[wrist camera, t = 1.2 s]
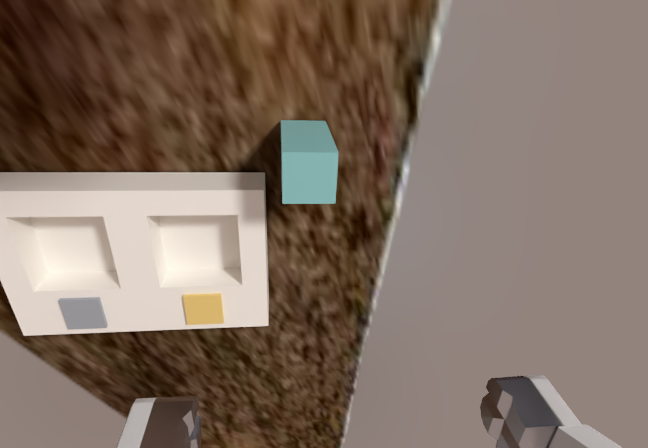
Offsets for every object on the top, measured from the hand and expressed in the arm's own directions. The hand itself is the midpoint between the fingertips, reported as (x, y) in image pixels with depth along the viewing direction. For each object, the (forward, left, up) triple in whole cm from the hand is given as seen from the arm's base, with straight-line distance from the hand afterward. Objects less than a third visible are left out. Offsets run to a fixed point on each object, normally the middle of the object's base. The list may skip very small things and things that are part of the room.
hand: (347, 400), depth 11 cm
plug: (0, 0, -23) cm, 23 cm away
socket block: (+9, -13, -23) cm, 28 cm away
